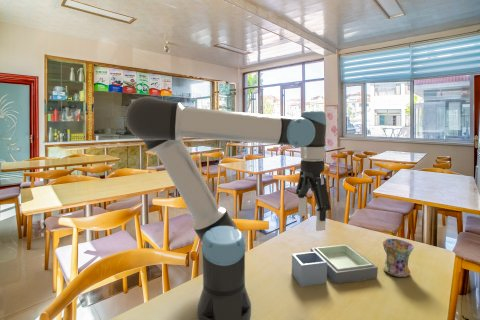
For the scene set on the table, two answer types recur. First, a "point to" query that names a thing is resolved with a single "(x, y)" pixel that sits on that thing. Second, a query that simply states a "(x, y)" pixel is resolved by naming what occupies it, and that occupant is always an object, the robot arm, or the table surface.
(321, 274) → the small crate
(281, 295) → the table surface
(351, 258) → the top crate
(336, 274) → the bottom crate
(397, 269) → the mug
